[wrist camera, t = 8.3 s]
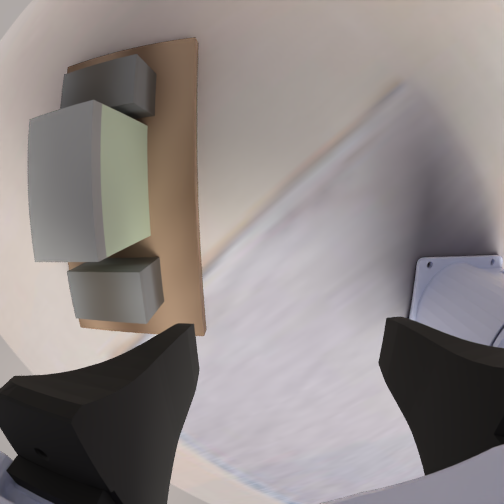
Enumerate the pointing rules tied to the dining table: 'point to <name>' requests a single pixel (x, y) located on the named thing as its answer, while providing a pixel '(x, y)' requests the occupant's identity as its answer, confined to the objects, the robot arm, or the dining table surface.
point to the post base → (159, 192)
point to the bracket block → (87, 183)
